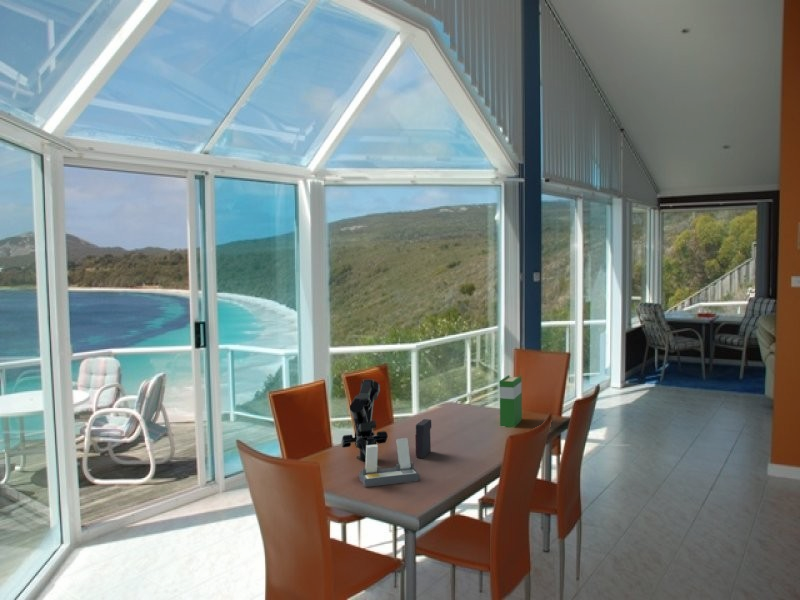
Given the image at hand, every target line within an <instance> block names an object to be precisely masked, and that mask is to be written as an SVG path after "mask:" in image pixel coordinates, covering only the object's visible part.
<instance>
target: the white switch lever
mask: <svg viewBox="0 0 800 600" xmlns="http://www.w3.org/2000/svg"><path fill="white" fill-rule="evenodd" d="M378 453H379V445H378V443H377V444H376V445H366V461H365V467H364V468H365V473H372V472H377V466H378Z"/></svg>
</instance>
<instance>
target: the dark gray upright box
mask: <svg viewBox="0 0 800 600" xmlns="http://www.w3.org/2000/svg"><path fill="white" fill-rule="evenodd" d="M431 429H432V419H428V418H424V419H422V420H421V421H420V422H418V423H416V425H415V440H414V441H415V457H416V459H424V458H425V457H426V456H427V455H429V452H430V453H431V452H432V451H431V448H432V447H431V446H432V445H431V443H432V442H431Z"/></svg>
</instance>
